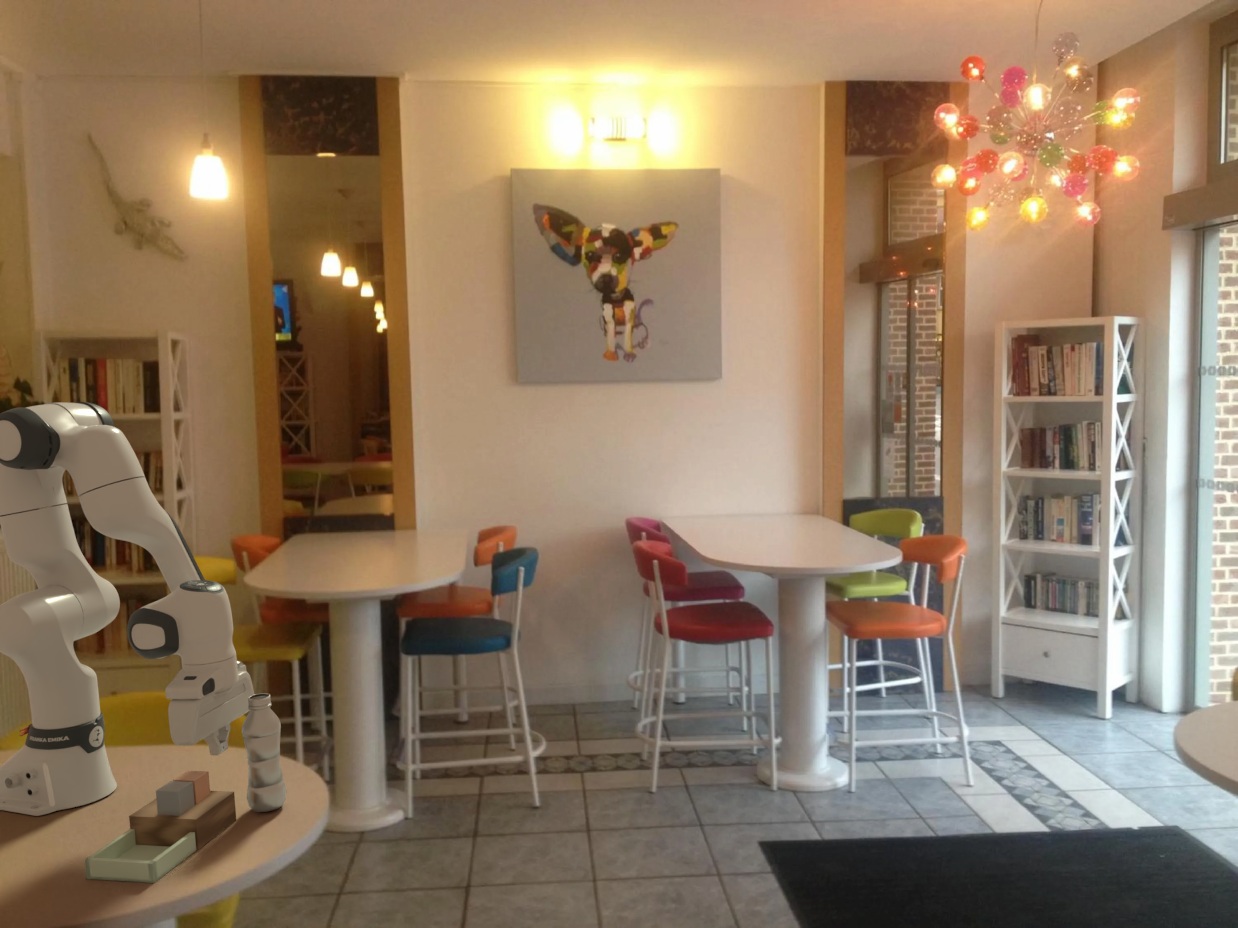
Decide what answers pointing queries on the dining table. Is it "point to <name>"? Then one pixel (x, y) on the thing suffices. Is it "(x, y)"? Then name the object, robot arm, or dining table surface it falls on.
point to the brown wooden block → (185, 821)
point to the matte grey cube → (175, 798)
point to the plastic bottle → (263, 755)
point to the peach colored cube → (197, 783)
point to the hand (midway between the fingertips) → (219, 752)
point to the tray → (137, 859)
